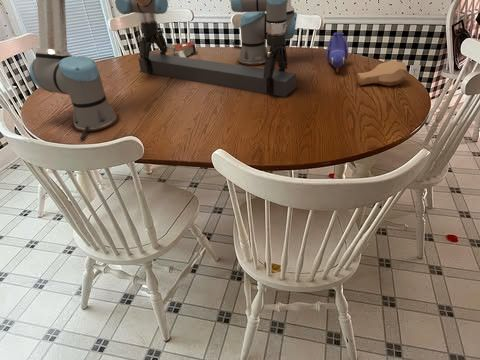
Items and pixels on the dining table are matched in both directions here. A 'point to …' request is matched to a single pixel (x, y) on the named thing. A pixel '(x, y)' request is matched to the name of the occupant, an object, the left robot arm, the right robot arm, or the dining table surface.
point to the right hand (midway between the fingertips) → (275, 88)
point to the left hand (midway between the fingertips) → (157, 68)
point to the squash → (384, 74)
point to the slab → (220, 73)
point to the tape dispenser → (183, 49)
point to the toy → (337, 50)
